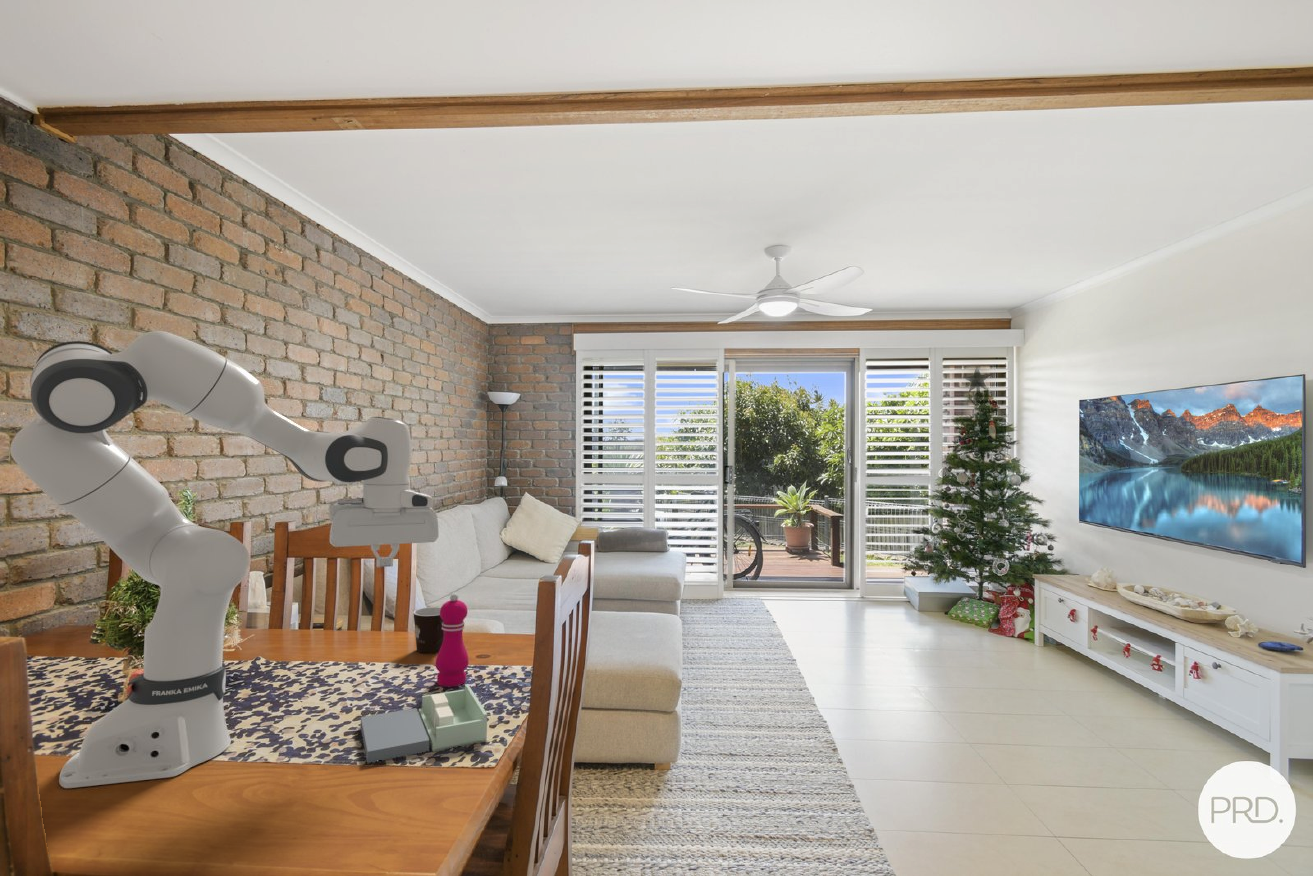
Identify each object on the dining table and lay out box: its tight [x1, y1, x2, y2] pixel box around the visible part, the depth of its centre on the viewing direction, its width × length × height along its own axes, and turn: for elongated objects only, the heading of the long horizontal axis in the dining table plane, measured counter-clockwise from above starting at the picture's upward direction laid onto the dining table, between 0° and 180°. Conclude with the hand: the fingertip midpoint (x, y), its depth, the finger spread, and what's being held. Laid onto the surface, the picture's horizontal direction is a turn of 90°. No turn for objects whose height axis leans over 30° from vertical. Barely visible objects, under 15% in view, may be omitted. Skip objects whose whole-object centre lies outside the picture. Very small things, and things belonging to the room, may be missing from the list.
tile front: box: [435, 706, 454, 735], centre depth 119 cm, size 4×4×2 cm
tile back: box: [430, 692, 448, 728], centre depth 125 cm, size 4×4×2 cm
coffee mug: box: [413, 606, 444, 655], centre depth 166 cm, size 12×9×10 cm
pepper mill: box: [434, 593, 470, 688], centre depth 146 cm, size 7×7×20 cm
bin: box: [418, 683, 488, 753], centre depth 123 cm, size 10×16×5 cm, turn 29°
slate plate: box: [360, 707, 430, 764], centre depth 118 cm, size 10×15×2 cm, turn 29°
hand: (384, 566), depth 130 cm, fingers closed
